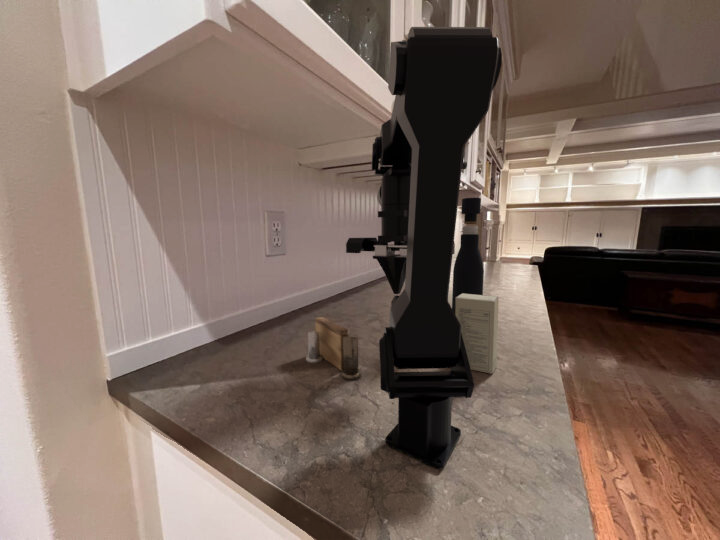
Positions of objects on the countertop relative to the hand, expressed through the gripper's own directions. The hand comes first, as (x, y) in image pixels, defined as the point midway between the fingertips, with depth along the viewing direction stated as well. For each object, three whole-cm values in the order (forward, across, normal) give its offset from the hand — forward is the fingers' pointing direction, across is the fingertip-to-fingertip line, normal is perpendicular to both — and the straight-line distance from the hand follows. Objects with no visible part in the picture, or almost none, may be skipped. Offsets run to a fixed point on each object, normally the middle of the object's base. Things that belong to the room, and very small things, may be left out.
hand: (396, 293), depth 52 cm
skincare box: (+12, -13, -4) cm, 18 cm away
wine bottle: (+12, -8, -20) cm, 25 cm away
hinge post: (+12, +3, +10) cm, 16 cm away
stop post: (+12, +12, +9) cm, 19 cm away
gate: (+12, +9, +8) cm, 17 cm away
